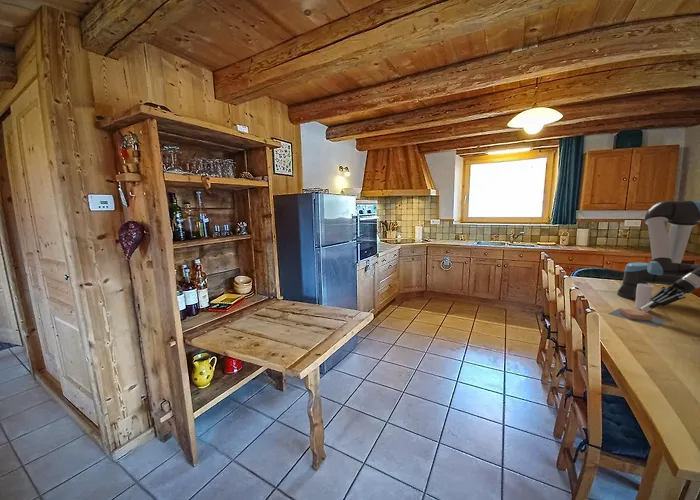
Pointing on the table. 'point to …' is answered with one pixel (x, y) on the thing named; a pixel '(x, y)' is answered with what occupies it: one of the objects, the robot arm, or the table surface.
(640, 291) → the white rectangular block
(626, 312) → the tile
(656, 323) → the mat
